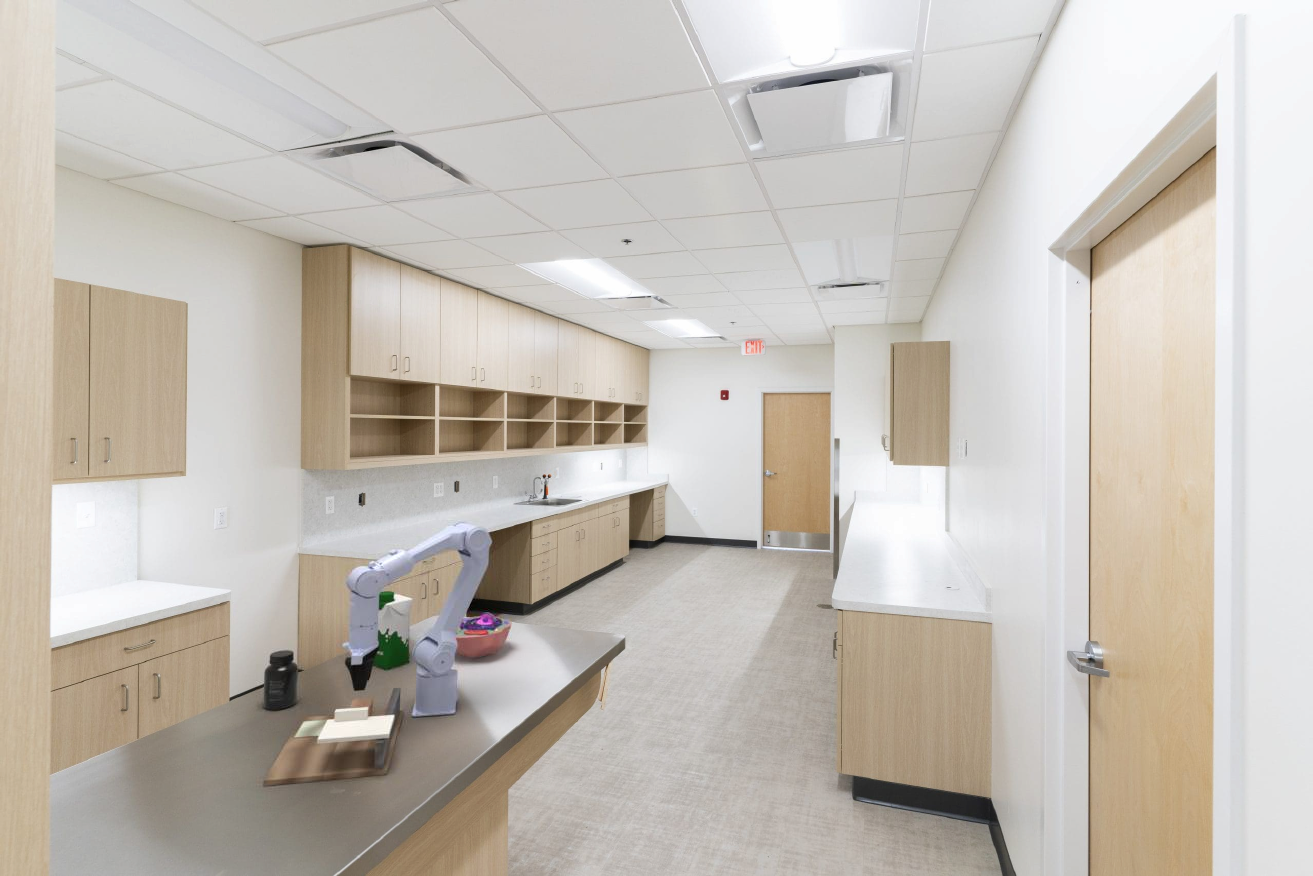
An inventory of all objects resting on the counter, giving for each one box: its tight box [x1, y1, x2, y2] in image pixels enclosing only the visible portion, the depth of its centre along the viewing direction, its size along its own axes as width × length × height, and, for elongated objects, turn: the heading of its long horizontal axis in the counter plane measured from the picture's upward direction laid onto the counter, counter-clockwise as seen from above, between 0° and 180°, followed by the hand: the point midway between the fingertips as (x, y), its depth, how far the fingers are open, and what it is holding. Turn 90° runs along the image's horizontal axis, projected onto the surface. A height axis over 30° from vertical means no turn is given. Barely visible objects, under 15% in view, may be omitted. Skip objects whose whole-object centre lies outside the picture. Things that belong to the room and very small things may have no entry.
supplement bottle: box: [263, 649, 299, 711], centre depth 148 cm, size 7×7×12 cm
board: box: [262, 687, 404, 787], centre depth 131 cm, size 21×25×6 cm
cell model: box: [455, 611, 513, 659], centre depth 184 cm, size 17×20×11 cm
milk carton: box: [373, 590, 414, 671], centre depth 174 cm, size 9×9×20 cm
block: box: [349, 698, 374, 717], centre depth 137 cm, size 4×4×6 cm
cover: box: [317, 707, 395, 744], centre depth 124 cm, size 12×8×3 cm, turn 105°
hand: (361, 685), depth 137 cm, fingers open, 4 cm apart
